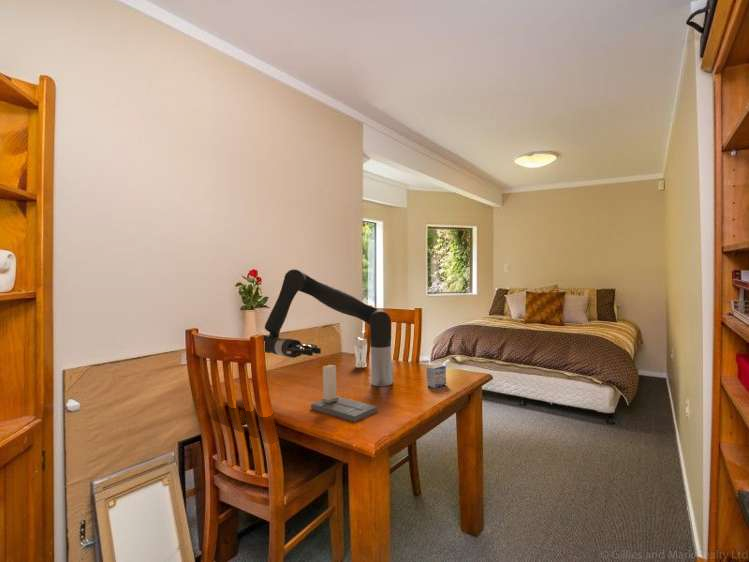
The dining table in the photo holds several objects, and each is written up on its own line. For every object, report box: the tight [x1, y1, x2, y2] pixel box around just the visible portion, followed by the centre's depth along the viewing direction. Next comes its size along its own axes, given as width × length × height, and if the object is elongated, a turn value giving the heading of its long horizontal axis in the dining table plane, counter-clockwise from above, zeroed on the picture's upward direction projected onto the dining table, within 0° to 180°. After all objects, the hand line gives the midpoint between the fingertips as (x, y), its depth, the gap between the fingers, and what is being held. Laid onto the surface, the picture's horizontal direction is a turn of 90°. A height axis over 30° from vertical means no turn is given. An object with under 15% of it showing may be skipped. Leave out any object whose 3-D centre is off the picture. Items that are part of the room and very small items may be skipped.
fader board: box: [310, 395, 378, 423], centre depth 143 cm, size 12×22×2 cm, turn 51°
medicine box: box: [426, 364, 447, 389], centre depth 171 cm, size 8×4×9 cm, turn 129°
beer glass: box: [353, 337, 368, 369], centre depth 211 cm, size 7×7×15 cm
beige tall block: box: [321, 364, 340, 403], centre depth 147 cm, size 5×4×13 cm
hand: (316, 351), depth 152 cm, fingers open, 3 cm apart
